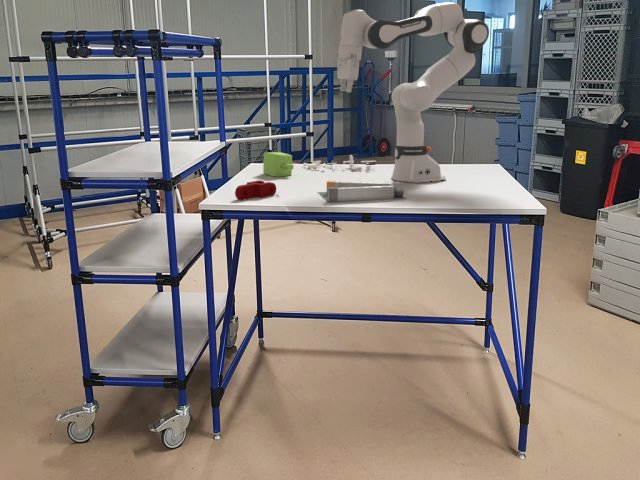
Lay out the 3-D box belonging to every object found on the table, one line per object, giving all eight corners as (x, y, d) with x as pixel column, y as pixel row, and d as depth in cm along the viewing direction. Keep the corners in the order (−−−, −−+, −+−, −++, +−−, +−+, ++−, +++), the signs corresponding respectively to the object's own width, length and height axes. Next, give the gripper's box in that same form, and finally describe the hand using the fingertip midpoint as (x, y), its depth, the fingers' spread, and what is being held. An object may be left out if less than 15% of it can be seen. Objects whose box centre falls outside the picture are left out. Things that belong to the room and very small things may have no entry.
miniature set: (377, 166, 275) (378, 174, 264) (304, 169, 278) (301, 178, 267) (377, 153, 272) (377, 160, 261) (302, 156, 275) (300, 164, 264)
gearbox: (300, 177, 251) (301, 155, 249) (280, 179, 246) (281, 156, 243) (279, 171, 266) (279, 150, 263) (260, 172, 260) (260, 151, 258)
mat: (390, 191, 218) (390, 189, 218) (406, 201, 202) (407, 198, 201) (317, 194, 213) (317, 192, 213) (328, 205, 196) (328, 202, 196)
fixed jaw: (401, 195, 207) (401, 181, 206) (406, 198, 202) (406, 184, 201) (325, 198, 202) (325, 184, 200) (329, 202, 197) (329, 187, 195)
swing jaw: (391, 194, 208) (391, 182, 207) (390, 195, 206) (391, 183, 205) (327, 192, 212) (327, 180, 211) (326, 193, 210) (326, 181, 208)
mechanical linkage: (262, 192, 218) (262, 179, 217) (276, 195, 214) (276, 181, 213) (230, 199, 207) (230, 185, 205) (244, 202, 202) (244, 188, 201)
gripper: (364, 55, 213) (360, 93, 217) (351, 56, 232) (347, 91, 236) (348, 53, 212) (343, 92, 215) (336, 54, 231) (332, 89, 234)
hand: (345, 91), depth 226 cm, fingers open, 8 cm apart
